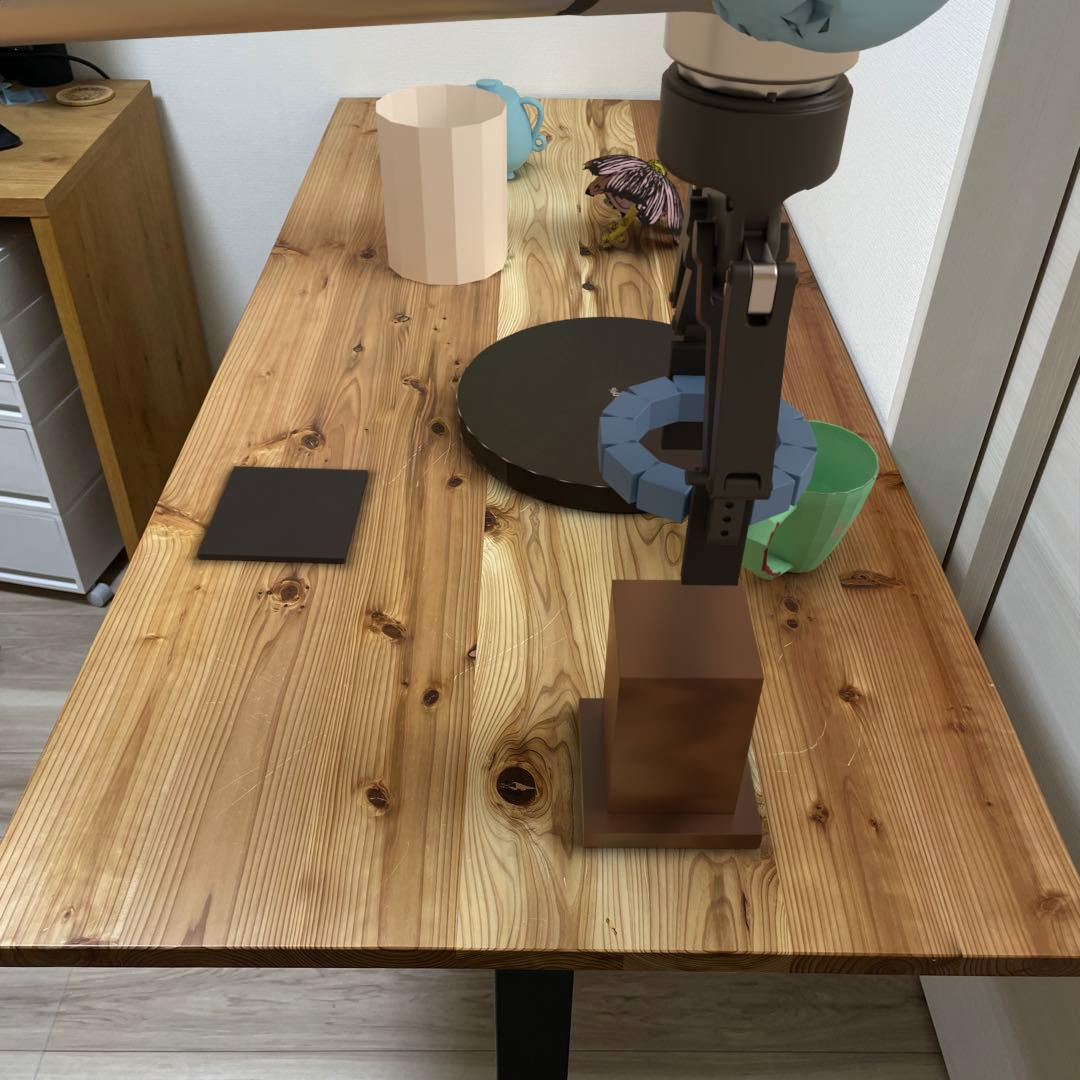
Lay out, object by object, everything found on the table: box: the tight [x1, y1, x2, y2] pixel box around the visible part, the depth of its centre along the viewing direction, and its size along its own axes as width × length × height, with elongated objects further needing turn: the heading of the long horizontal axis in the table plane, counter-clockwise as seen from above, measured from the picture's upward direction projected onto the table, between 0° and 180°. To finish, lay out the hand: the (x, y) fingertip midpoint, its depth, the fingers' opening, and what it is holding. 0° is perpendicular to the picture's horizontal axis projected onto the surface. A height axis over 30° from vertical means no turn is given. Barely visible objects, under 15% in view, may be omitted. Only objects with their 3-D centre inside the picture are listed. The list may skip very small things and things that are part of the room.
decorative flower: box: [582, 153, 685, 250], centre depth 130 cm, size 15×12×15 cm
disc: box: [455, 316, 702, 513], centre depth 102 cm, size 30×30×3 cm
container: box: [375, 83, 509, 286], centre depth 124 cm, size 14×14×18 cm
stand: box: [577, 578, 765, 849], centre depth 66 cm, size 11×11×14 cm
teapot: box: [466, 78, 548, 180], centre depth 148 cm, size 20×17×12 cm
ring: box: [598, 375, 818, 525], centre depth 54 cm, size 11×11×2 cm
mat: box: [196, 465, 369, 564], centre depth 91 cm, size 12×12×1 cm
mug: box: [741, 419, 880, 581], centre depth 83 cm, size 15×10×10 cm
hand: (695, 508), depth 56 cm, fingers closed on ring, 11 cm apart
